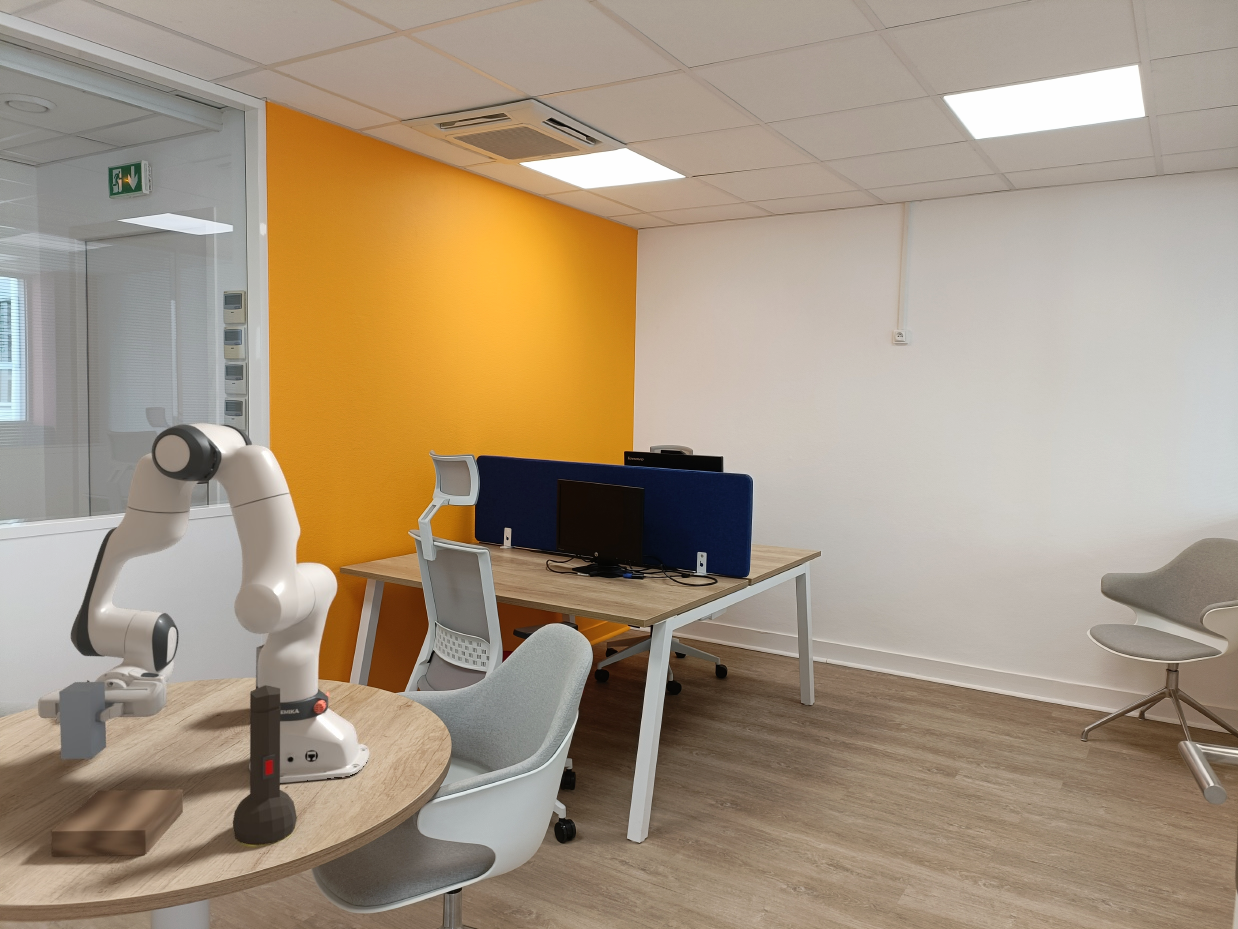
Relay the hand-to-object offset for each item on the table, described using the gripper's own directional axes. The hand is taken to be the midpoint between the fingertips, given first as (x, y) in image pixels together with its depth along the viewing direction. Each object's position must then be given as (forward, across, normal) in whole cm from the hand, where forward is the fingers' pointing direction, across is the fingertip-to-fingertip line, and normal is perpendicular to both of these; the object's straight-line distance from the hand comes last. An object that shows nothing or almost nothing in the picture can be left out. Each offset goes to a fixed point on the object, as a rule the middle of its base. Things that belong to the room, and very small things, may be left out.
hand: (80, 718), depth 150 cm
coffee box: (-44, +20, +16) cm, 51 cm away
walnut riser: (+11, +12, +15) cm, 22 cm away
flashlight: (+11, +34, +16) cm, 40 cm away
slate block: (-1, 0, +7) cm, 7 cm away
